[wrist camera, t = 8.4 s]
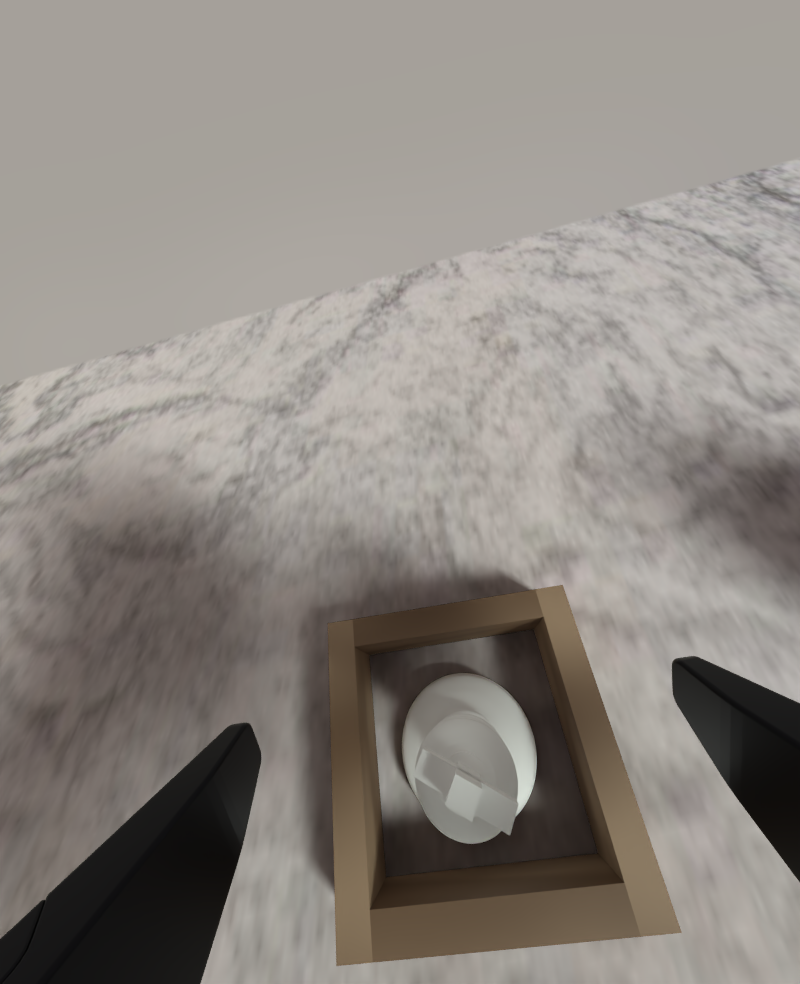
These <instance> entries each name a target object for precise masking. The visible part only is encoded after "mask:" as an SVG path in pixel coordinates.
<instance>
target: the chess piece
mask: <svg viewBox="0 0 800 984" xmlns="http://www.w3.org/2000/svg"><path fill="white" fill-rule="evenodd" d="M402 757H403V764H404V768H405V772H406V775H407V778H408V781H409V784H410V786H411V788H412V790H413V792H414V794H415V795H416V797H417V799H418V800H419V802H420V803H421V806H422V808H423V810H424V812H425V814H426V815H427V817H428V818H429V820H430V821H431V822H432V824H433V825H434V826H435V827H436V828H437V829H438V830H439V831H440V832H442V833H443V834H444V835H446V836H447V837H449V838H451V839H453V840H455V841H458V842H462V843H468V844H476V843H482V842H485V841H488V840H490V839H492V838H493V837H495V836H496V835H498V834H499V833H500V832H501V831H503V832H505V833H506V834H508V835H510V834H511V831H512V827H513V823H514V820H515V817H516V816H517V815H518V814H519V813H520V812H521V810H522V809H523V807H524V806H525V804H526V803H527V801H528V799H529V797H530V794H531V792H532V789H533V786H534V782H535V777H536V770H537V752H536V744H535V739H534V735H533V732H532V729H531V726H530V723H529V721H528V719H527V717H526V715H525V713H524V711H523V710H522V708H521V707H520V705H519V704H518V702H517V701H516V700H515V699H514V698H513V697H512V695H511V694H510V693H509V692H507V691H506V690H505V689H504V688H503V687H501V686H500V685H499V684H497V683H496V682H494V681H492V680H490V679H488V678H486V677H483V676H480V675H476V674H471V673H455V674H450V675H446V676H443V677H441V678H439V679H437V680H435V681H433V682H432V683H430V684H429V685H428V686H427V687H425V688H424V689H423V690H422V691H421V692H420V694H419V695H418V696H417V697H416V699H415V700H414V702H413V704H412V705H411V707H410V709H409V712H408V714H407V717H406V720H405V724H404V728H403V735H402Z"/></svg>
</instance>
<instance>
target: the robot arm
mask: <svg viewBox="0 0 800 984" xmlns="http://www.w3.org/2000/svg"><path fill="white" fill-rule="evenodd" d="M672 687H673V695H674V699H675V701H676V703H677V705H678V707H679V708H680V710H681V712H682V713H683V715H684V716H685V718H686V720H687V721H688V723H689V724H690V726H691V728H692V729H693V731H694V732H695V734H696V736H697V737H698V739H699V740H700V742H701V744H702V745H703V747H704V748H705V750H706V752H707V753H708V755H709V756H710V758H711V760H712V761H713V763H714V764H715V766H716V768H717V769H718V771H719V772H720V774H721V775H722V777H723V779H724V780H725V782H726V783H727V785H728V786H729V788H730V789H731V790H732V792H733V793H734V795H735V796H736V797H737V799H738V800H739V802H740V803H741V804H742V806H743V807H744V808H745V810H746V811H747V812H748V814H749V815H750V816H751V818H752V819H753V820H754V822H755V823H756V824H757V826H758V827H759V828H760V830H761V831H762V832H763V834H764V835H765V836H766V838H767V839H768V840H769V842H770V843H771V844H772V846H773V847H774V848H775V850H776V851H777V852H778V854H779V855H780V856H781V858H782V859H783V860H784V862H785V863H786V864H787V866H788V867H789V868H790V870H791V871H792V872H793V874H794V875H795V876H796V878H797V879H798V880H799V882H800V703H798V702H796V701H793V700H791V699H789V698H787V697H785V696H782V695H780V694H778V693H776V692H774V691H771V690H769V689H767V688H765V687H763V686H761V685H758V684H756V683H754V682H752V681H750V680H747V679H745V678H743V677H741V676H739V675H736V674H734V673H732V672H730V671H728V670H725V669H723V668H721V667H719V666H717V665H714V664H712V663H710V662H708V661H706V660H703V659H701V658H699V657H696V656H689V657H683V658H677V659H675V660H673V662H672ZM260 765H261V751H260V748H259V745H258V742H257V740H256V737H255V734H254V732H253V729H252V727H251V725H250V724H249V723H240V724H233V725H230V726H229V727H227V728H226V729H225V730H224V731H223V732H222V733H221V734H220V735H219V736H218V737H217V738H215V739H214V740H213V741H212V742H211V743H210V744H209V745H208V746H207V747H206V748H205V749H204V750H203V751H202V752H200V753H199V754H198V755H197V756H196V757H195V758H194V759H193V760H192V761H191V762H190V763H189V764H188V765H187V766H185V767H184V768H183V769H182V770H181V771H180V772H179V773H178V774H177V775H176V776H175V777H174V778H173V779H172V780H170V781H169V782H168V783H167V784H166V785H165V786H164V787H163V788H162V789H161V790H160V791H159V792H158V793H157V794H155V795H154V796H153V797H152V798H151V799H150V800H149V801H148V802H147V803H146V804H145V805H144V806H143V807H142V808H140V809H139V810H138V811H137V812H136V813H135V814H134V815H133V816H132V817H131V818H130V819H129V820H128V821H127V822H125V823H124V824H123V825H122V826H121V827H120V828H119V829H118V830H117V831H116V832H115V833H114V834H113V835H112V836H110V837H109V838H108V839H107V840H106V841H105V842H104V843H103V844H102V845H101V846H100V847H99V848H98V849H97V850H95V851H94V852H93V853H92V854H91V855H90V856H89V857H88V858H87V859H86V860H85V861H84V862H83V863H82V864H80V865H79V866H78V867H77V868H76V869H75V870H74V871H73V872H72V873H71V874H70V875H69V876H68V877H67V878H65V879H64V880H63V881H62V882H61V883H60V884H59V885H58V886H57V887H56V888H55V889H54V890H53V891H52V892H50V893H49V894H48V896H47V898H46V900H42V901H41V902H40V903H39V904H37V905H36V906H35V907H34V908H33V909H32V910H31V911H30V912H29V913H28V914H27V915H26V916H25V917H24V918H23V919H21V920H20V921H19V922H18V923H17V924H16V925H15V926H14V927H13V928H12V929H11V930H10V931H8V932H7V933H6V934H5V935H4V936H3V937H2V938H1V939H0V984H200V983H201V980H202V977H203V973H204V970H205V967H206V964H207V960H208V957H209V954H210V951H211V947H212V944H213V941H214V938H215V934H216V931H217V928H218V925H219V922H220V918H221V915H222V912H223V909H224V905H225V902H226V899H227V896H228V892H229V889H230V886H231V883H232V879H233V876H234V873H235V870H236V866H237V863H238V860H239V856H240V853H241V849H242V845H243V841H244V837H245V833H246V829H247V824H248V819H249V815H250V810H251V806H252V801H253V797H254V792H255V788H256V783H257V778H258V774H259V769H260Z"/></svg>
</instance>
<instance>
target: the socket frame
mask: <svg viewBox="0 0 800 984" xmlns="http://www.w3.org/2000/svg"><path fill="white" fill-rule="evenodd" d="M533 629H534V632H535V636H536V639H537V643H538V646H539V649H540V653H541V656H542V660H543V663H544V667H545V670H546V674H547V677H548V681H549V684H550V688H551V691H552V695H553V698H554V702H555V705H556V709H557V712H558V716H559V719H560V723H561V726H562V730H563V733H564V737H565V740H566V744H567V747H568V751H569V754H570V758H571V761H572V765H573V768H574V772H575V775H576V778H577V782H578V785H579V789H580V792H581V796H582V799H583V803H584V806H585V810H586V813H587V817H588V820H589V824H590V827H591V831H592V834H593V838H594V841H595V845H596V848H597V852H598V853H596V854H587V855H578V856H569V857H560V858H551V859H543V860H534V861H525V862H516V863H507V864H498V865H489V866H480V867H471V868H463V869H454V870H445V871H436V872H427V873H418V874H409V875H400V876H391V877H386V868H385V855H384V841H383V828H382V815H381V802H380V789H379V776H378V763H377V750H376V736H375V723H374V710H373V697H372V684H371V671H370V658H369V655H373V654H379V653H385V652H392V651H398V650H405V649H411V648H417V647H424V646H430V645H437V644H443V643H450V642H456V641H462V640H469V639H475V638H482V637H488V636H494V635H501V634H507V633H514V632H520V631H527V630H533ZM328 656H329V694H330V732H331V771H332V809H333V847H334V886H335V924H336V962H337V966H340V965H351V964H361V963H371V962H382V961H392V960H403V959H413V958H423V957H434V956H444V955H455V954H465V953H475V952H486V951H496V950H506V949H517V948H527V947H538V946H548V945H558V944H569V943H579V942H590V941H600V940H610V939H621V938H631V937H642V936H652V935H662V934H673V933H682V932H681V929H680V927H679V924H678V921H677V918H676V915H675V912H674V909H673V906H672V903H671V900H670V897H669V894H668V892H667V889H666V886H665V883H664V880H663V877H662V874H661V871H660V868H659V865H658V862H657V859H656V856H655V854H654V851H653V848H652V845H651V842H650V839H649V836H648V833H647V830H646V827H645V824H644V821H643V819H642V816H641V813H640V810H639V807H638V804H637V801H636V798H635V795H634V792H633V789H632V786H631V784H630V781H629V778H628V775H627V772H626V769H625V766H624V763H623V760H622V757H621V754H620V751H619V748H618V746H617V743H616V740H615V737H614V734H613V731H612V728H611V725H610V722H609V719H608V716H607V713H606V711H605V708H604V705H603V702H602V699H601V696H600V693H599V690H598V687H597V684H596V681H595V678H594V675H593V673H592V670H591V667H590V664H589V661H588V658H587V655H586V652H585V649H584V646H583V643H582V640H581V638H580V635H579V632H578V629H577V626H576V623H575V620H574V617H573V614H572V611H571V608H570V605H569V602H568V600H567V597H566V594H565V591H564V588H563V585H560V586H553V587H547V588H541V589H535V590H529V591H523V592H517V593H511V594H504V595H498V596H492V597H486V598H480V599H474V600H468V601H462V602H455V603H449V604H443V605H437V606H431V607H425V608H419V609H413V610H406V611H400V612H394V613H388V614H382V615H376V616H370V617H364V618H358V619H351V620H345V621H339V622H333V623H328Z"/></svg>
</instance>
